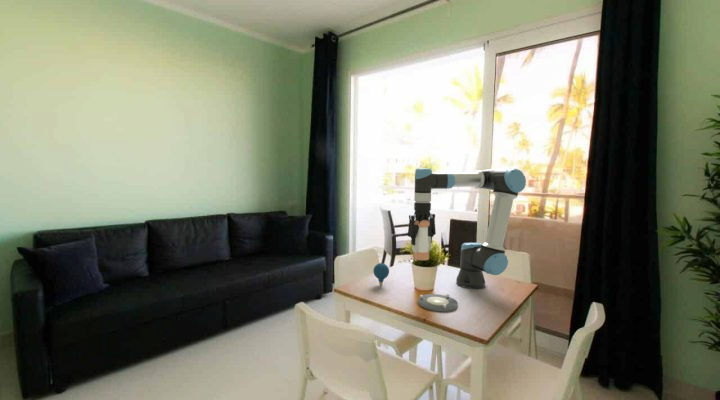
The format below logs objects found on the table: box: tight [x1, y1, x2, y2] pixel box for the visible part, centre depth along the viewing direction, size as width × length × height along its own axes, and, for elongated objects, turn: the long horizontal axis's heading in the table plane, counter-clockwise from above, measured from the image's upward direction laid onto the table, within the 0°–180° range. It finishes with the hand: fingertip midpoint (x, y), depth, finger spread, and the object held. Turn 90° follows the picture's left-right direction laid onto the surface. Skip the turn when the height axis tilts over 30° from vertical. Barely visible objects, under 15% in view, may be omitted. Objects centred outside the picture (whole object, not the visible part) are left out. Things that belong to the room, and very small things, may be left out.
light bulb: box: [373, 262, 390, 286], centre depth 176 cm, size 8×8×12 cm
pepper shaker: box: [412, 220, 430, 261], centre depth 153 cm, size 7×7×19 cm
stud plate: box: [417, 293, 459, 313], centre depth 154 cm, size 18×18×3 cm
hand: (421, 250), depth 154 cm, fingers closed on pepper shaker, 7 cm apart
